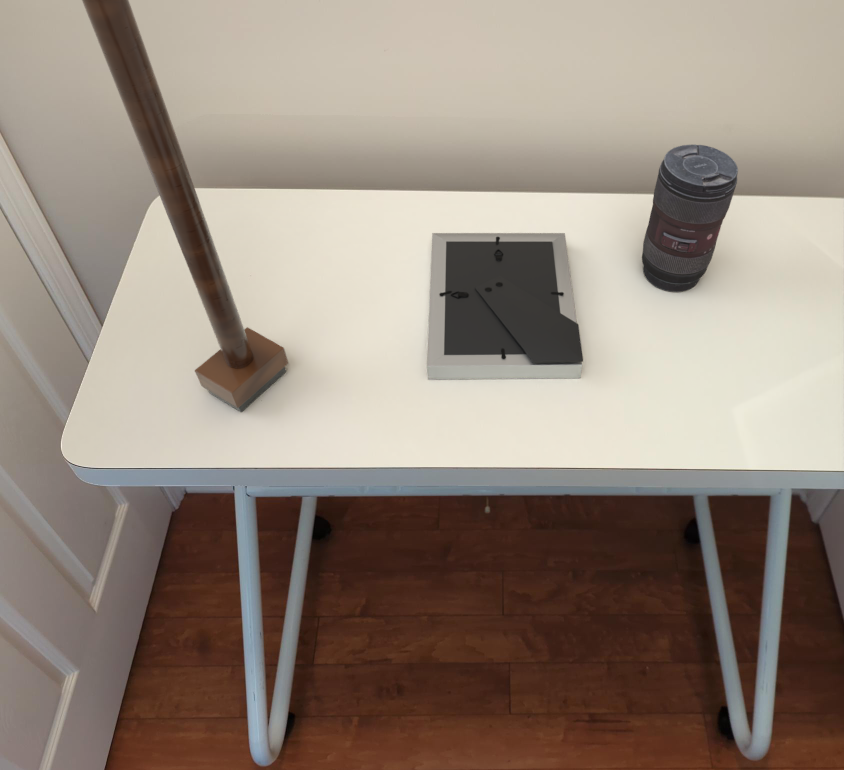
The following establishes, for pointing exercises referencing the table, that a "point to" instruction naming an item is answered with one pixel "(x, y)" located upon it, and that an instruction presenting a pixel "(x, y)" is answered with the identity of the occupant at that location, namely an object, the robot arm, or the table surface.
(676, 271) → the camera lens
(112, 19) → the brown piece
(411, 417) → the table surface
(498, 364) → the picture frame
